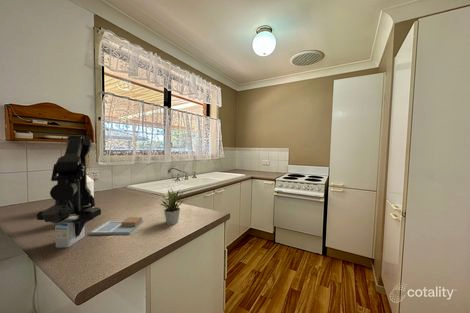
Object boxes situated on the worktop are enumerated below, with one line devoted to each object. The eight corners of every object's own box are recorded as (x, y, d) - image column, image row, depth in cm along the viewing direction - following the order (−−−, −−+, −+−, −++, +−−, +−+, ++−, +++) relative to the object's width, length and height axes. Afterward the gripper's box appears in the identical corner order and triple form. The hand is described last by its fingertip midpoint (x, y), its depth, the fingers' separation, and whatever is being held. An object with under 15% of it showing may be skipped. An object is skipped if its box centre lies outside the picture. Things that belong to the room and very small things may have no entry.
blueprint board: (88, 235, 74) (87, 227, 74) (108, 222, 87) (108, 216, 87) (128, 234, 75) (128, 227, 75) (143, 222, 87) (142, 216, 87)
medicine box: (73, 237, 73) (72, 215, 72) (85, 237, 73) (84, 215, 73) (55, 248, 65) (54, 223, 64) (68, 247, 65) (68, 223, 65)
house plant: (196, 220, 91) (196, 187, 90) (175, 231, 78) (175, 193, 78) (175, 215, 97) (175, 184, 97) (152, 224, 85) (152, 189, 84)
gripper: (18, 200, 60) (20, 248, 60) (78, 200, 60) (79, 247, 61) (51, 192, 71) (52, 232, 71) (101, 192, 71) (102, 232, 72)
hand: (70, 236), depth 69 cm, fingers closed on medicine box, 4 cm apart
